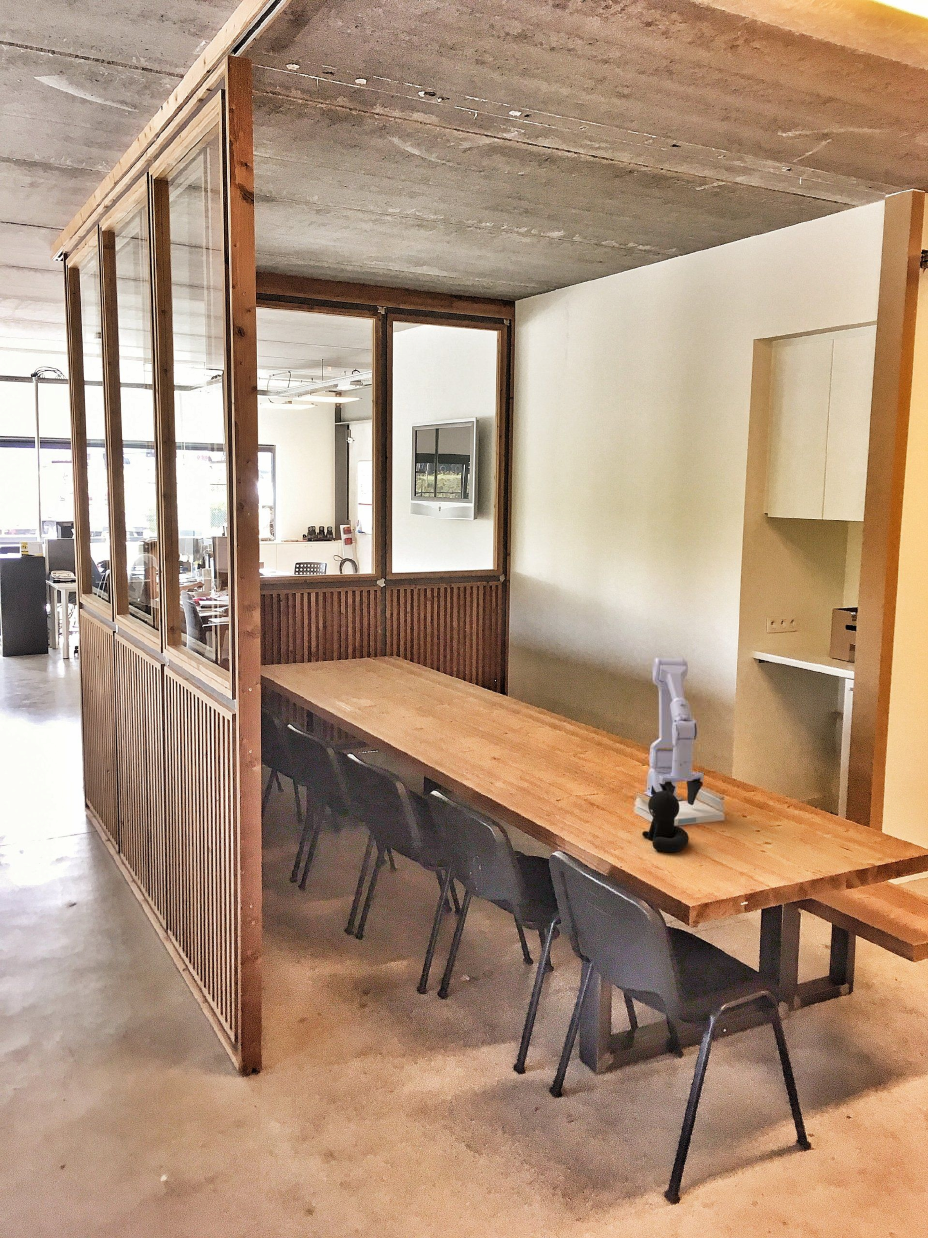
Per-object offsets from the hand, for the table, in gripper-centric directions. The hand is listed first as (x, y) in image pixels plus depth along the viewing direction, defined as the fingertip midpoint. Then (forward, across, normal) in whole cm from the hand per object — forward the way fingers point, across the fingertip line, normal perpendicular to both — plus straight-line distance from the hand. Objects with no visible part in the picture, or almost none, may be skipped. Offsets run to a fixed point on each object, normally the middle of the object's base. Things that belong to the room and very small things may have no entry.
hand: (679, 805), depth 300 cm
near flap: (-1, -10, 0) cm, 10 cm away
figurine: (+4, -17, -19) cm, 26 cm away
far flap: (-1, +10, 0) cm, 10 cm away
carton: (+3, 0, 0) cm, 3 cm away
